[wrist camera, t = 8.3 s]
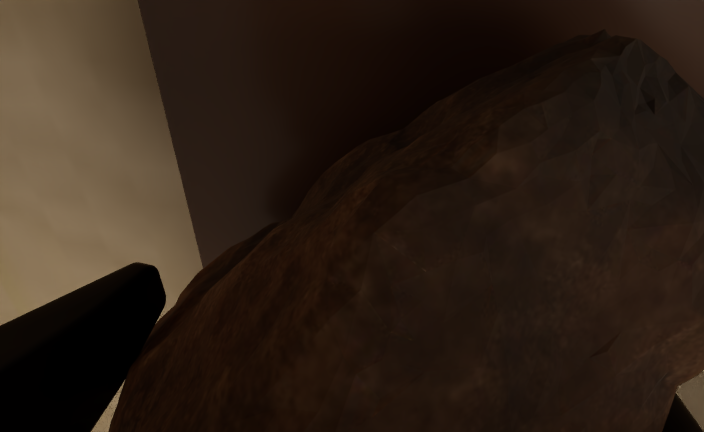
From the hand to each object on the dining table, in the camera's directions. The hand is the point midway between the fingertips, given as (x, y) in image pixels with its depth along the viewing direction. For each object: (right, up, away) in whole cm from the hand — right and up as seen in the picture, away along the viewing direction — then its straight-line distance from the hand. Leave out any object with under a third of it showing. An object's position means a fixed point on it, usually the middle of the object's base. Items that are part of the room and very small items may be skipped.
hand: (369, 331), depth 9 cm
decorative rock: (+1, +2, +3) cm, 4 cm away
